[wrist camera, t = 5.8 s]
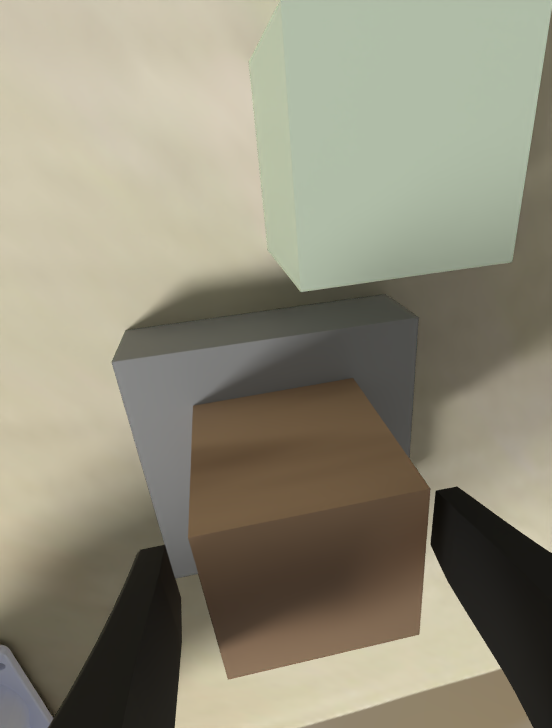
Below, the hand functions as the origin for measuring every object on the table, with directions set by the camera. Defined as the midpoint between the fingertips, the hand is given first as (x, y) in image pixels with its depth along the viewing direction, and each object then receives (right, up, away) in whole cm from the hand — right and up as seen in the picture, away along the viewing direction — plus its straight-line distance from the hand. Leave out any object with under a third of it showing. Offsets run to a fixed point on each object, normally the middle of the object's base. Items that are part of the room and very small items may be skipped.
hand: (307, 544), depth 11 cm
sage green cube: (+1, +11, +2) cm, 11 cm away
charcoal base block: (-1, +3, +6) cm, 6 cm away
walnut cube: (-1, +2, +3) cm, 3 cm away
